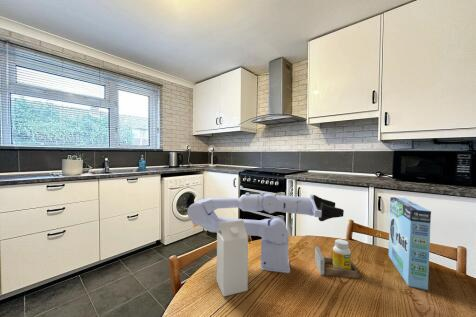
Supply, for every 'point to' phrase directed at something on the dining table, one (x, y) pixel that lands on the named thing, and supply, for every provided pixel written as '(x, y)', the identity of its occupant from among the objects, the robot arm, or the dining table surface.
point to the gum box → (410, 241)
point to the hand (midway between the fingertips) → (338, 209)
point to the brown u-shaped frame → (341, 270)
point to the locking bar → (319, 260)
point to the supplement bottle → (341, 255)
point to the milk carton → (232, 257)
